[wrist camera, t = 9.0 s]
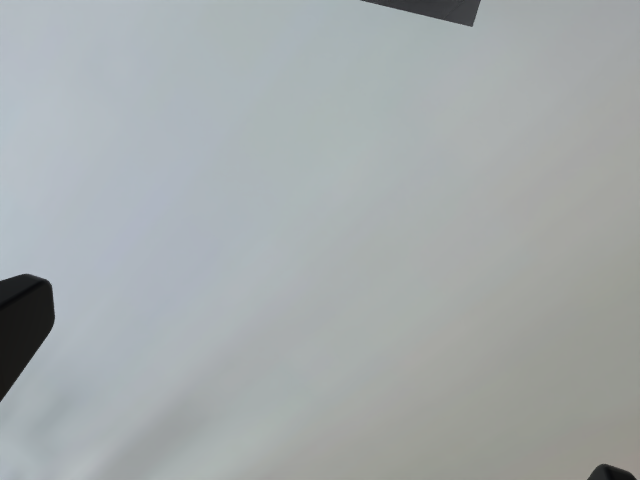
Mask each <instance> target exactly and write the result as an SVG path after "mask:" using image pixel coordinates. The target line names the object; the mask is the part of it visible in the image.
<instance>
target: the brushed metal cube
mask: <svg viewBox="0 0 640 480" xmlns="http://www.w3.org/2000/svg"><path fill="white" fill-rule="evenodd" d="M362 1H366V2H370V3H374V4H378V5H383V6H387V7H391V8H395V9H399V10H404V11H408V12H412V13H416V14H420V15H425V16H429V17H433V18H437V19H441V20H446V21H450V22H454V23H458V24H462V25H467V26H471V27H472V26H473V23H474V20H475V17H476V14H477V10H478V7H479V4H480V1H481V0H362Z"/></svg>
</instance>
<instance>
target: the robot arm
mask: <svg viewBox="0 0 640 480" xmlns="http://www.w3.org/2000/svg"><path fill="white" fill-rule="evenodd" d="M54 320H55V312H54V302H53V291H52V285H51V284H50V282H49V281H48V280H46V279H43V278H40V277H37V276H34V275H31V274H22V275H18V276H15V277H12V278H8V279H5V280H2V281H0V402H1V401H2V399H3V398H4V397H5V395H6V394H7V392H8V391H9V390H10V388H11V387H12V385H13V384H14V383H15V381H16V380H17V378H18V377H19V375H20V374H21V373H22V371H23V370H24V368H25V367H26V366H27V364H28V363H29V361H30V360H31V358H32V357H33V356H34V354H35V353H36V351H37V350H38V349H39V347H40V346H41V344H42V343H43V341H44V340H45V339H46V337H47V336H48V334H49V333H50V331H51V329H52V327H53V325H54ZM587 480H637V479H636V478H635V477H634V476H633V475H632V474H631V473H630V472H628V471H626V470H623V469H620V468H617V467H614V466H611V465H608V464H600V465H599V466H597V467H596V468H595V470H594V471H593V472H592V474H591V475H590V477H589V478H588V479H587Z"/></svg>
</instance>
